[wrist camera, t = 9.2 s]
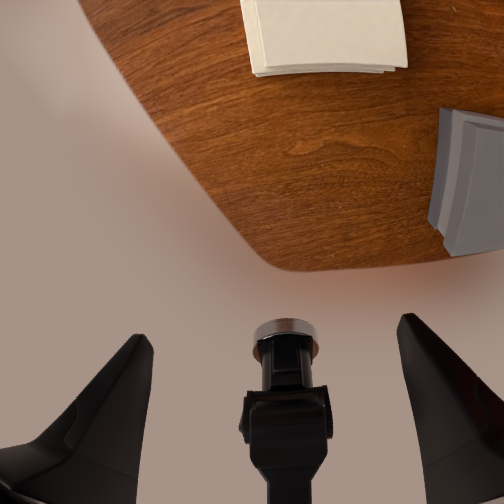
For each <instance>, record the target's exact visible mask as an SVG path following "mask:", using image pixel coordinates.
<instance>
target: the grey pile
mask: <svg viewBox="0 0 504 504" xmlns="http://www.w3.org/2000/svg"><path fill="white" fill-rule="evenodd" d="M427 220H428V221H429V223H430V224H431V225H432V226H433V228H434V229H435V230H439V231H440V232H441V234H442V235H443V236H444V241H443V245H444V247H445V248H446V250H447V251H448V252H449V254H450V255H451V257H454V256H461V255H468V254H475V253H481V252H488V251H494V250H500V249H504V118H500V117H495V116H491V115H486V114H481V113H476V112H470V111H464V110H458V109H451V108H443V107H439V131H438V145H437V156H436V165H435V174H434V181H433V188H432V195H431V201H430V207H429V212H428V218H427Z"/></svg>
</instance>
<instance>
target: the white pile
mask: <svg viewBox="0 0 504 504" xmlns="http://www.w3.org/2000/svg"><path fill="white" fill-rule="evenodd" d="M240 3H241V9H242V14H243V20H244V25H245V31H246V37H247V43H248V48H249V54H250V60H251V66H252V73H253V74H256V76H257V77H261V76H270V75H280V74H292V73H309V72H369V73H384V71H393V72H394V71H395V67H392V66H380V65H362V64H311V65H293V66H280V67H270V68H266V67H265V66H264V60H263V54H262V48H261V42H260V36H259V30H258V24H257V19H256V13H255V8H254V2H253V0H240Z"/></svg>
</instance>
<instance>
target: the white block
mask: <svg viewBox="0 0 504 504" xmlns="http://www.w3.org/2000/svg"><path fill="white" fill-rule="evenodd" d="M253 2H254V8H255V13H256V19H257V24H258V30H259V36H260V42H261V48H262V54H263V60H264V66H265V67H266V68H270V67H280V66H293V65H311V64H362V65H380V66H392V67H402V68H407V67H408V61H407V49H406V39H405V31H404V23H403V16H402V10H401V4H400V0H253Z"/></svg>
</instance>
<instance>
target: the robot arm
mask: <svg viewBox="0 0 504 504" xmlns="http://www.w3.org/2000/svg"><path fill="white" fill-rule="evenodd" d="M397 339H398V344H399V350H400V356H401V362H402V369H403V374H404V378H405V382H406V386H407V390H408V394H409V398H410V403H411V407H412V411H413V416H414V421H415V425H416V431H417V436H418V441H419V447H420V452H421V459H422V466H423V473H424V482H425V490H426V501H427V504H504V401H503V400H502V399H500V398H499V397H498V396H497V395H496V394H495V393H494V392H493V391H492V390H491V389H490V388H489V387H488V386H487V385H486V384H485V383H484V382H483V381H482V380H481V379H480V378H479V377H477V375H476V374H475V373H474V372H473V371H472V370H471V369H470V367H469V366H468V365H467V364H466V363H465V362H464V361H463V360H462V359H461V358H460V357H459V356H458V355H457V354H456V353H455V352H454V351H453V350H452V349H451V348H450V347H449V346H448V345H447V344H446V343H445V342H444V341H443V340H442V339H441V338H440V337H438V335H437V334H436V333H434V332H433V331H432V330H431V329H430V328H429V327H428V326H427V325H426V324H425V323H424V322H423V321H422V320H421V319H419V318H418V316H416V315H415V314H414V313H407V314H403V315H402V316H401V320H400V322H399V325H398V327H397ZM256 346H257V350H258V354H259V358H260V362H261V366H262V391H247V396H246V397H244V405H243V412H242V416H241V420H240V423H239V431H240V432H241V433H242V434H243V437H244V441H245V443H246V444H250V459H251V461H252V463H253V465H254V466H255V468H257V469H258V471H259V472H260V474H261V475H262V476H263V478H264V479H265V481H266V482H267V504H312V497H311V496H312V495H311V480H312V478H313V477H314V475H315V474H316V472H317V470H318V469H319V467H320V466H321V464H322V462H323V461H324V459H325V457H326V455H327V452H328V449H327V439H332V437H333V419H332V411H331V405H330V399H329V394H328V389H327V385H323V386H321V387H313V383H312V372H311V365H312V362H313V361H312V360H313V336H311V335H306V336H296V337H285V338H272V339H259V340H257V341H256ZM153 354H154V350H153V347H152V345H151V344H150V342H149V340H148V339H147V337H146V336H145V335H144V334H134V335H132V336H131V337H130V338H129V339H128V341H127V342H126V343H125V344H124V345H123V346H122V347H121V348H120V349H119V350H118V352H117V353H116V354H115V355H114V356H113V357H112V358H111V359H110V360H109V361H108V362H107V364H106V365H105V366H104V367H103V368H102V369H101V370H100V371H99V372H98V374H97V375H96V376H95V377H94V378H93V379H92V380H91V381H90V383H89V384H88V385H87V386H86V387H85V388H84V390H83V391H82V392H81V393H80V394H79V395H78V396H77V397H76V399H75V400H74V401H73V402H72V403H71V404H70V405H69V406H68V408H67V409H66V410H65V411H64V412H63V413H62V414H61V415H60V416H59V417H58V418H57V419H56V420H55V421H54V422H53V423H52V424H51V425H50V426H49V427H48V428H47V429H46V430H45V431H44V432H43V433H42V434H41V435H40V436H38V437H37V438H36V439H35V440H33V441H31V442H29V443H27V444H23V445H18V446H13V447H9V448H3V449H0V504H136V496H137V485H138V474H139V464H140V457H141V449H142V442H143V435H144V428H145V421H146V415H147V408H148V403H149V397H150V390H151V381H152V367H153Z"/></svg>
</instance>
